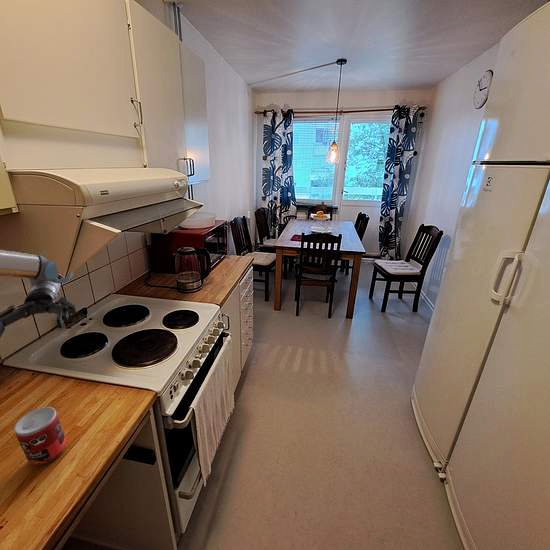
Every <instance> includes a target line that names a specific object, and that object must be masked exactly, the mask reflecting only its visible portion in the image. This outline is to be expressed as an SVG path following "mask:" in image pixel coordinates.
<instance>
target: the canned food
mask: <svg viewBox="0 0 550 550" xmlns="http://www.w3.org/2000/svg"><path fill="white" fill-rule="evenodd" d="M13 430H14V434H15V437H16V439H17V441H18V443H19V445H20V447H21V449H22V451H23V454H24V457H26V460H27V462H28V463H29V464H31V465H33V466H38V465H42V464H45V463H47V462H49V461H51V460H53V459H54V458H56V457H57V456H58V455H59V454H60V453H61V452H62V451H63V452H64V449H65V448H66V444H67V438H66V435H65V432H64V429H63V427H62V424H61V421H60V419H59V415H58V414H57V411H56V409H55V408H54V407H51V406H44V407H40V408H39V407H38V408H36V409H34V410H32V411H30V412H28V413H26V414H25V415H23V416H22V417H21V418H20V419H19V420H18V421H17V422H16V423H15V425H14V428H13ZM63 452H62V453H63Z"/></svg>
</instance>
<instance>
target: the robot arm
mask: <svg viewBox="0 0 550 550" xmlns="http://www.w3.org/2000/svg"><path fill="white" fill-rule="evenodd" d="M73 274H74V272H73V273H71V274H69V275H68V276H66V277H65V278H62V279H55V278H58V276H59V273H58V271H57V267H56V263H55V262H51V261H50V262H49V261H48V260H47V259H46V258H45V257H43V256H41V255H35V254H28V253H21V252H20V251H12V250H4V249H0V278H13V279H28V280H29V282H30V283H29V284H30V286H31V288H29V291H28V293H27V295H26V297H25V299H24V300H23V304H21V305H20V306H17V307H15V305H13V304H12V305H9V306H8V307H7V308H6V309H5V310H2V312H0V338H1V337H2V335H3V334H4V332H5V330H6V327H8V326H10V325H11V324H12V325H13V324H14V323H16V322H17V321H20V320H22V319H28V318H29V317H31V316H35V315H37V314H46V313H47V314H55V315H57V316H56V323H57V326H58V327H57V328H58V329H63V328H64V327H63V326H64V323H65V321H67V320H68V319H69V316H70V315H76V314H77V313H78V312H77V309H76V305H75V304H73V303H72V302H69V301H68V300H67V299H65V296H60V298H59V299H57V298H58V296H59V295H58V294H59V291H60V290H61V286H62V284H63V283H66V282H68V281H69V280H70V279H72V277H73Z"/></svg>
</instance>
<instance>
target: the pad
mask: <svg viewBox="0 0 550 550" xmlns="http://www.w3.org/2000/svg"><path fill="white" fill-rule="evenodd" d="M63 452H64V450H63V451H62V452H61V453H60V454H59V455H58V456H57V457H56V458H54V459H53V460H51V461H49V462H47V463H45V464H42V465H37V466H38V467H44V466H47V465H49V464H52V463H53V462H55V461H56V460H57V459H58V458H60V457H61V455H62V454H63Z"/></svg>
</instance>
